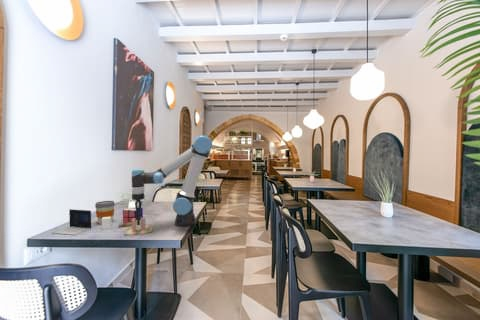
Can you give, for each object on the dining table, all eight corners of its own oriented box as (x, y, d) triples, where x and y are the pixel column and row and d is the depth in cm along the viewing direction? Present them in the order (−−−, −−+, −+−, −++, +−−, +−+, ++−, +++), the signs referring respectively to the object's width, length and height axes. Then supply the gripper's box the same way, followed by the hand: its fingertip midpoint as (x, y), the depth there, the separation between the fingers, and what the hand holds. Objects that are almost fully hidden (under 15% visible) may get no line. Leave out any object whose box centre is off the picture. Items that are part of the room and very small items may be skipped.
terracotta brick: (145, 227, 161) (145, 217, 161) (145, 229, 156) (145, 219, 156) (132, 229, 158) (132, 218, 158) (132, 231, 154) (131, 220, 153)
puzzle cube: (135, 224, 172) (134, 210, 172) (122, 223, 174) (122, 210, 174) (143, 220, 182) (142, 207, 182) (131, 220, 184) (130, 207, 184)
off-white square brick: (111, 226, 168) (111, 216, 168) (110, 228, 163) (110, 218, 163) (103, 227, 166) (103, 217, 166) (101, 229, 162) (101, 219, 161)
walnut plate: (131, 224, 173) (131, 222, 172) (131, 226, 168) (131, 224, 168) (119, 226, 169) (119, 223, 169) (118, 228, 165) (118, 225, 165)
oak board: (151, 226, 167) (151, 225, 167) (151, 232, 154) (151, 231, 154) (126, 229, 161) (126, 227, 161) (124, 236, 148) (124, 234, 148)
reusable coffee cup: (118, 220, 183) (118, 200, 183) (107, 225, 171) (107, 204, 170) (103, 219, 185) (102, 200, 184) (91, 224, 172) (91, 204, 172)
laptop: (52, 233, 154) (51, 213, 154) (70, 227, 166) (69, 209, 166) (75, 235, 150) (74, 215, 149) (91, 229, 162) (91, 210, 162)
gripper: (132, 191, 164) (133, 224, 165) (130, 195, 146) (131, 233, 147) (144, 190, 167) (145, 223, 167) (144, 195, 149) (144, 231, 150)
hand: (138, 228), depth 157 cm, fingers open, 6 cm apart
